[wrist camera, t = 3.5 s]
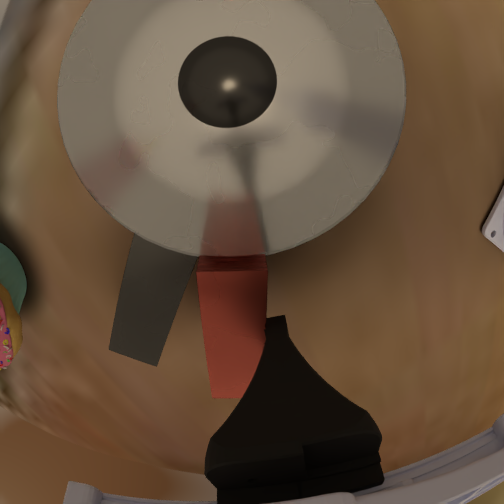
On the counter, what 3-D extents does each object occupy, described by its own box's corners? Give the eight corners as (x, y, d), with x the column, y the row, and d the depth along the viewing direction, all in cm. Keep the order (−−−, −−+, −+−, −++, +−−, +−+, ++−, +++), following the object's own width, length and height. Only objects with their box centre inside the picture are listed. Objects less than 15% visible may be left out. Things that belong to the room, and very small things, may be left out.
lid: (91, -96, 4) (75, -113, 3) (375, -101, 5) (392, -119, 3) (130, 376, 15) (122, 402, 13) (345, 371, 15) (354, 397, 13)
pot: (420, 1, 10) (465, -15, 7) (245, 343, 19) (247, 392, 16) (195, -94, 7) (186, -135, 4) (56, 275, 16) (25, 314, 13)
